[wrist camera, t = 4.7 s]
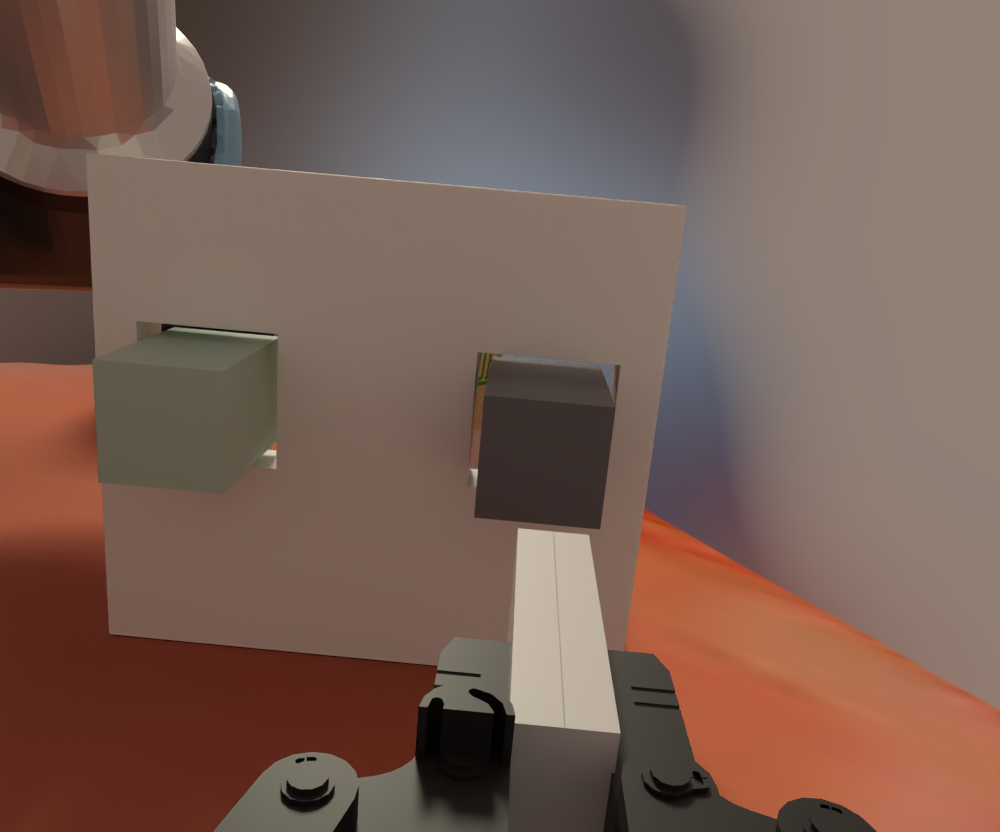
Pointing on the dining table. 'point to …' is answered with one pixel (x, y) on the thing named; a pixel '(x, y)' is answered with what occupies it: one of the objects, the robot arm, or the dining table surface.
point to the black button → (544, 443)
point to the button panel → (369, 394)
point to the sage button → (185, 409)
